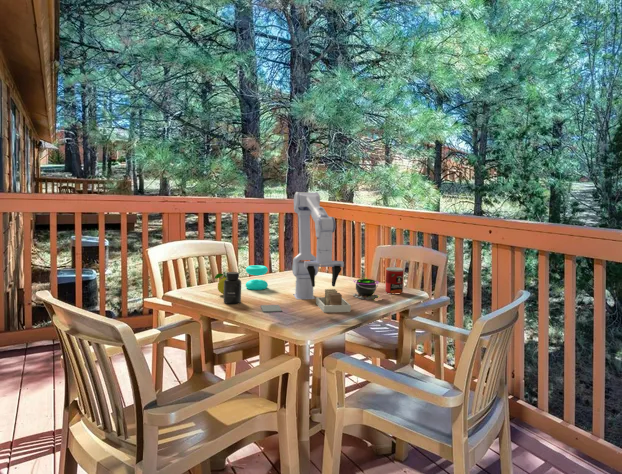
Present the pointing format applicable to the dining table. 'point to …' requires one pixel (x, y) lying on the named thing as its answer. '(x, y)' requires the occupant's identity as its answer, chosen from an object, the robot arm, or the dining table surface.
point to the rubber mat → (271, 308)
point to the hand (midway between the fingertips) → (323, 286)
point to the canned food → (394, 280)
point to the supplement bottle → (232, 288)
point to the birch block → (328, 295)
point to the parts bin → (333, 306)
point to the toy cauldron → (365, 289)
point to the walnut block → (335, 299)
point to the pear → (221, 282)
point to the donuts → (256, 283)
